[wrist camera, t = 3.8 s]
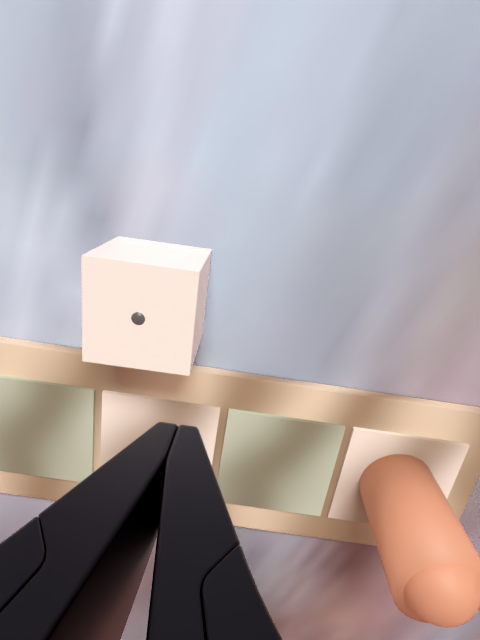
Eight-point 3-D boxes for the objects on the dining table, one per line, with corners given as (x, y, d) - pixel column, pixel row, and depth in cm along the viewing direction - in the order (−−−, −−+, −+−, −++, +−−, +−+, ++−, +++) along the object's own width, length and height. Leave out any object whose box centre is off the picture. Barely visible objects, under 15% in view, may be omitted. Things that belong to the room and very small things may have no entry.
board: (498, 410, 20) (507, 419, 19) (438, 545, 23) (444, 558, 22) (-44, 329, 19) (-56, 336, 18) (-26, 479, 22) (-36, 490, 22)
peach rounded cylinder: (442, 459, 20) (524, 591, 14) (419, 515, 21) (485, 658, 15) (369, 449, 20) (419, 576, 14) (351, 505, 21) (389, 645, 15)
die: (212, 248, 17) (199, 272, 14) (202, 336, 19) (188, 379, 15) (119, 235, 17) (80, 256, 14) (117, 324, 19) (81, 364, 15)
